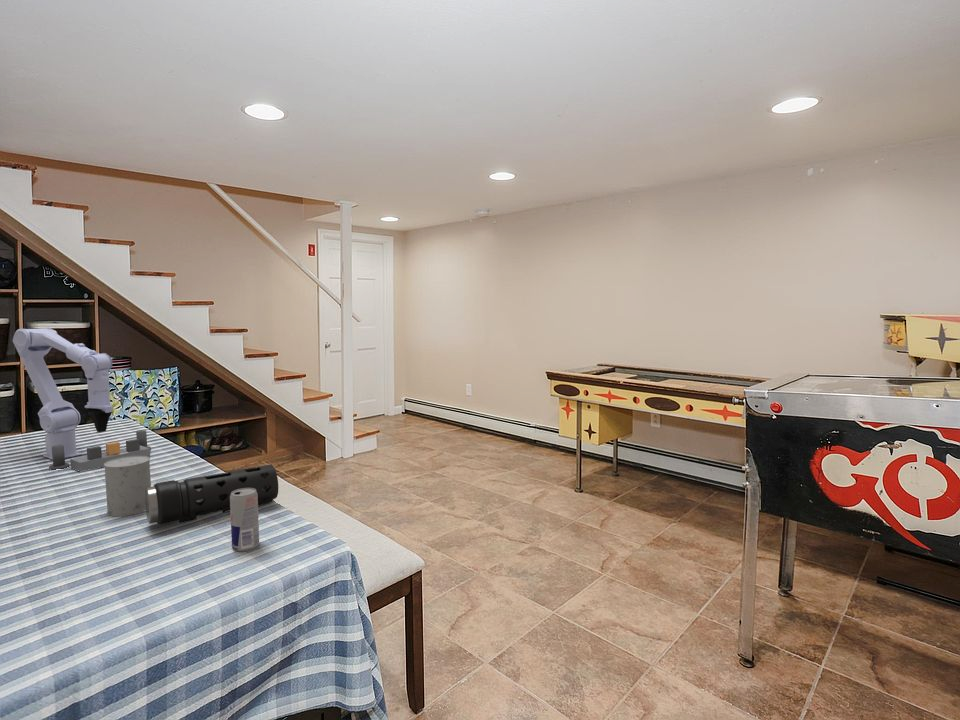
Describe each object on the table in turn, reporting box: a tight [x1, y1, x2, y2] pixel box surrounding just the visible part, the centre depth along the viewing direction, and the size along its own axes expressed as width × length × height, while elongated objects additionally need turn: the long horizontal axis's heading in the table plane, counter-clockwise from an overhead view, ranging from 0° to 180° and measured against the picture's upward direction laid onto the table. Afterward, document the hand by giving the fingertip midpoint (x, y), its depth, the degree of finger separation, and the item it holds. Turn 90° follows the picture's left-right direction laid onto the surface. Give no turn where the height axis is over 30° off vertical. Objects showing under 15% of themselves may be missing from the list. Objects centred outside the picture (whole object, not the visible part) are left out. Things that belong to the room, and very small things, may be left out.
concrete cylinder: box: [103, 456, 152, 517], centre depth 132 cm, size 10×10×12 cm
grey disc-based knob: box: [48, 445, 70, 470], centre depth 164 cm, size 5×5×7 cm
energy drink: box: [229, 488, 260, 552], centre depth 112 cm, size 5×5×12 cm
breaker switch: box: [105, 441, 121, 455], centre depth 170 cm, size 2×3×4 cm, turn 147°
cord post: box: [135, 430, 152, 451], centre depth 184 cm, size 5×5×7 cm
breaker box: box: [70, 438, 151, 471], centre depth 170 cm, size 7×20×6 cm, turn 147°
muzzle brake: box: [145, 464, 279, 525], centre depth 129 cm, size 10×28×10 cm, turn 128°
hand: (101, 431), depth 173 cm, fingers closed
